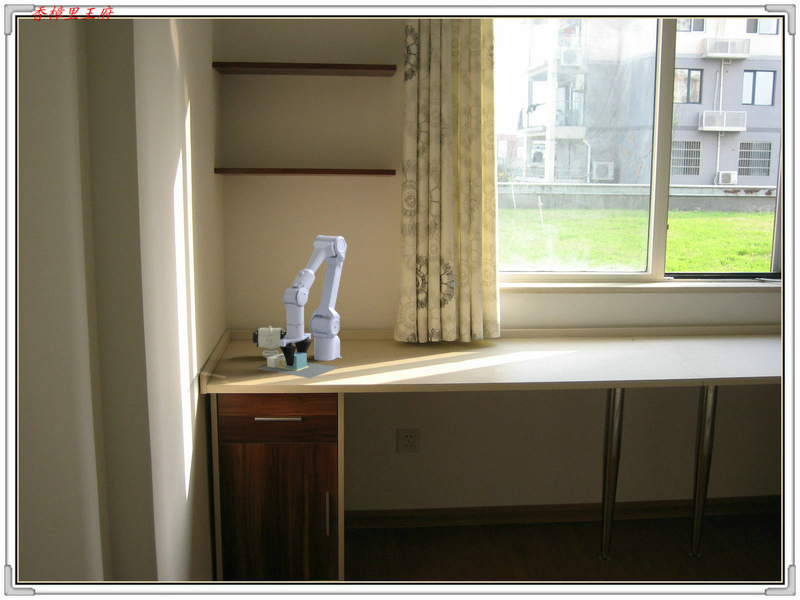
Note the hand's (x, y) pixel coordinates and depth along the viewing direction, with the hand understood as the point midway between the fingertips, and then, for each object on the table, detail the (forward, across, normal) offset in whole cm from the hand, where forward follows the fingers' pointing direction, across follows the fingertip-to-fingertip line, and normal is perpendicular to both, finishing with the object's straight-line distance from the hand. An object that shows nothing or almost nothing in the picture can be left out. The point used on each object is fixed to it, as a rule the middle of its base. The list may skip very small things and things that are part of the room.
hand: (295, 363), depth 232 cm
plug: (+1, 0, 0) cm, 1 cm away
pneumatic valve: (+2, -7, -17) cm, 18 cm away
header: (+1, 0, -6) cm, 6 cm away
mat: (+2, 0, +1) cm, 2 cm away
